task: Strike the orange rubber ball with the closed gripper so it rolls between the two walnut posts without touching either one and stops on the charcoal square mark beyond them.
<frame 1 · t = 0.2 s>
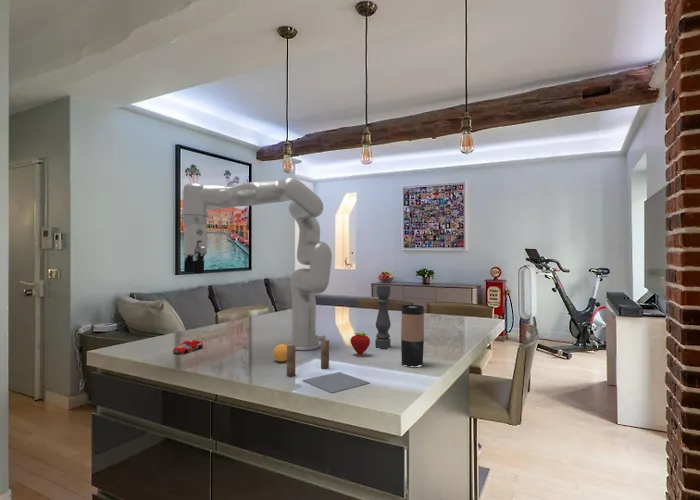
hand: (193, 272, 138), 31 cm above the table, tool pointing down, fingers open, 9 cm apart
post 1: (290, 375, 127), on the table
ball: (282, 352, 144), on the table
race car: (188, 352, 158), on the table
travel mug: (412, 365, 141), on the table
candle holder: (382, 348, 168), on the table
strawberry: (360, 355, 154), on the table
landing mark: (335, 382, 121), on the table
post 2: (324, 368, 136), on the table
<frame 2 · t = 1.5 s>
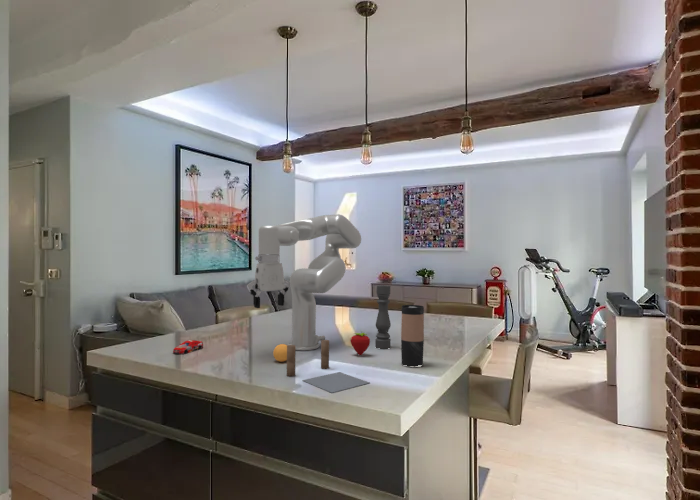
hand: (269, 306, 151), 18 cm above the table, tool pointing down, fingers open, 9 cm apart
nothing on the table moved.
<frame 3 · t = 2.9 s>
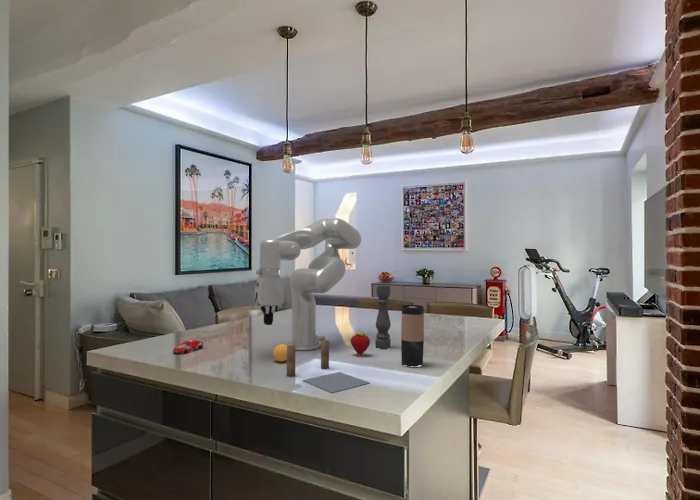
hand: (268, 324, 150), 12 cm above the table, tool pointing down, fingers closed
nothing on the table moved.
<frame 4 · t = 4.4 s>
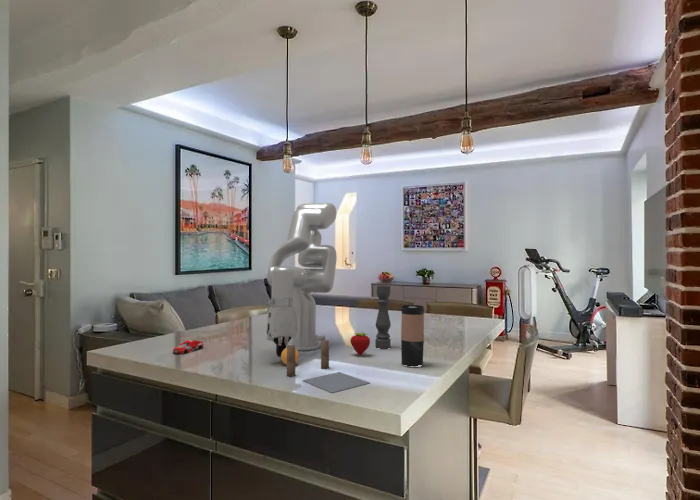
hand: (281, 356, 143), 2 cm above the table, tool pointing down, fingers closed
ball: (289, 355, 140), on the table
everything else where it was.
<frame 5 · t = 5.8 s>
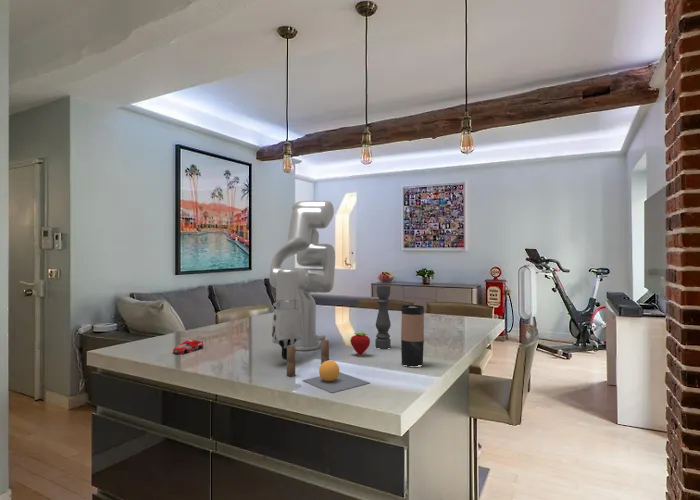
hand: (286, 358, 142), 2 cm above the table, tool pointing down, fingers closed
ball: (329, 370, 122), on the table
everything else where it was.
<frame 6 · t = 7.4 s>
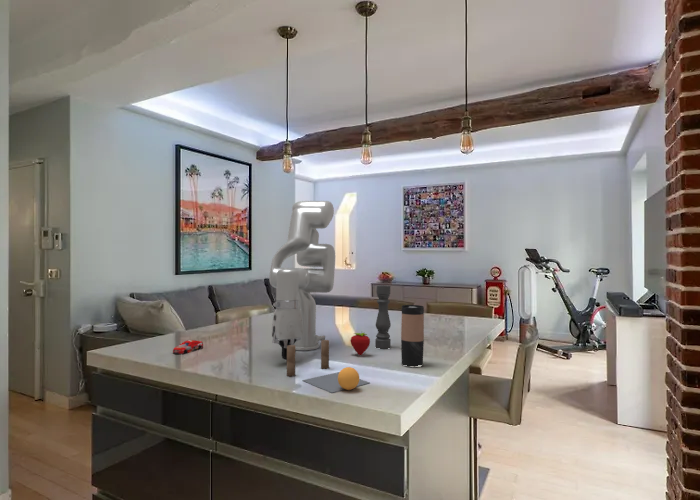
hand: (286, 358, 142), 2 cm above the table, tool pointing down, fingers closed
ball: (348, 378, 115), on the table
everything else where it was.
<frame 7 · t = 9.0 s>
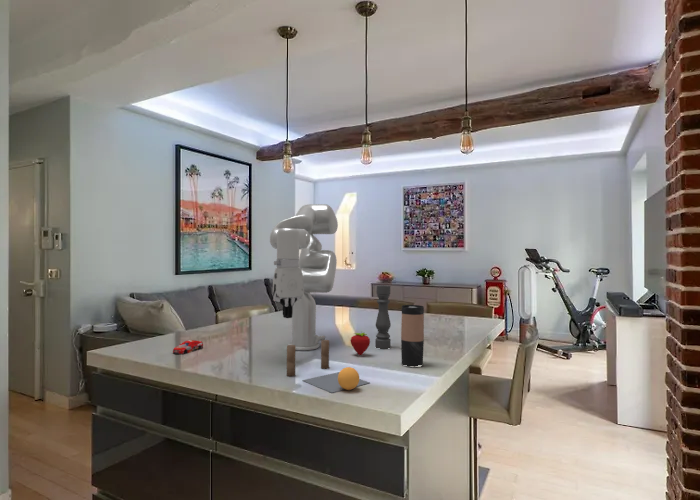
hand: (287, 317, 142), 16 cm above the table, tool pointing down, fingers closed
nothing on the table moved.
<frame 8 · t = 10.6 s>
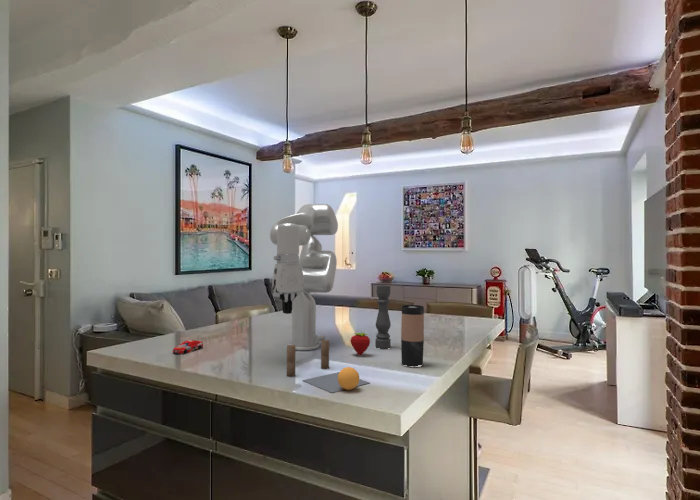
hand: (287, 313, 142), 17 cm above the table, tool pointing down, fingers closed
nothing on the table moved.
at the end: ball 7.4 cm from the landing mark (horizontally); ball never touched post 2; ball never touched post 1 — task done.
